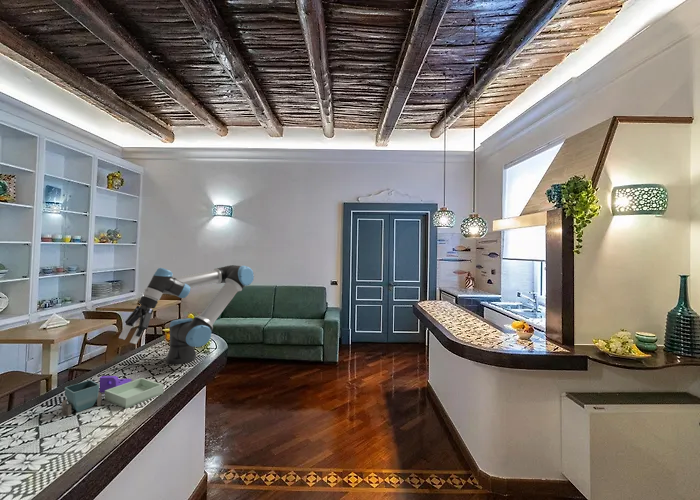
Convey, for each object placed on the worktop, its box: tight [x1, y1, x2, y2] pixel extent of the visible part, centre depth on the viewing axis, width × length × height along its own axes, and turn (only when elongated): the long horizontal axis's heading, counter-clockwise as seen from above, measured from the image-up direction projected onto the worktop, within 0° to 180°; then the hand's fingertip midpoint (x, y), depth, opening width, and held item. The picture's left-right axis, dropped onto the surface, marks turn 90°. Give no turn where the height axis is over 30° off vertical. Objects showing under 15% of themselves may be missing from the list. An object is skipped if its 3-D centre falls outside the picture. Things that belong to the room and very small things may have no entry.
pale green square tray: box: [104, 377, 164, 409], centre depth 146 cm, size 16×16×4 cm
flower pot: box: [64, 379, 100, 412], centre depth 136 cm, size 9×9×9 cm
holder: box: [61, 391, 103, 417], centre depth 136 cm, size 12×7×4 cm, turn 142°
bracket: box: [99, 375, 132, 393], centre depth 156 cm, size 12×7×7 cm, turn 4°
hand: (127, 341), depth 158 cm, fingers open, 13 cm apart
